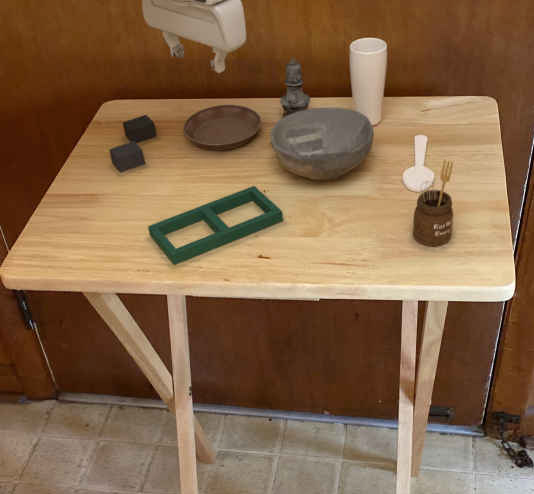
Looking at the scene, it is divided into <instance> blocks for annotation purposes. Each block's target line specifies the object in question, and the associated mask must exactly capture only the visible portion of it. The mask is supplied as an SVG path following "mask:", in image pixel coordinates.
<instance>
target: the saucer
mask: <svg viewBox="0 0 534 494" xmlns="http://www.w3.org/2000/svg"><path fill="white" fill-rule="evenodd" d="M261 126H262V118H261V115H260V114H259V113H258V112H256V111H255V110H253V109H252V108H250V107H247V106H243V105H239V104H237V105H236V104H221V105H219V104H218V105H214V106H210V107H206V108H203V109H201V110H198V111H196V112H195V113H193V114H192V115H190V116H189V117H188V118H187V119H186V120H185V122H184V123H183V133H184V135H185V136H186V137H187V138H188V139H189V140H190V141H191V142H193V143H194V144H196V145H197V146H199V147H202V148H204V149H207V150H212V151H227V150H232V149H236V148H239V147H241V146H243V145H245V144H246V143H248V142H249V141H250V140H251V139H252V138H254V136H256V134H257V133H258V131H260V128H261Z"/></svg>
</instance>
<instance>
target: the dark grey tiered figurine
mask: <svg viewBox="0 0 534 494" xmlns="http://www.w3.org/2000/svg"><path fill="white" fill-rule="evenodd" d="M303 83H304V78H302V65H301V64H300V63H299V62H298V61H295V59H294V58H293V57H292V58H291V59H290V61H289V62H287V64H286V65H285V80H284V84H285V86H286V87H285V88H286V93H285V94H284V95H282V96H281V97H280V99H279V103H280V105H281V106H282V109H283V111H284V113H283V114H282V118H284V117H286V116H288V115H290V114H293V113H296V112H299V111H303V110H307V109H309V108H308V107H309V105H310V102H311V97H310V95H309V94H307V93H305V92H304V91H303Z"/></svg>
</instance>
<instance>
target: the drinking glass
mask: <svg viewBox="0 0 534 494" xmlns="http://www.w3.org/2000/svg"><path fill="white" fill-rule="evenodd" d="M348 56H349V57H348V60H349V77H350V87H351V96H352V98H351V99H352V108H353V109H352V110H354V111H357V112H359V113H361V114H363V115H365V116H366V117H368V119H369V121H370V122H371V125H372V127H373V126H376V125H379V124H380V122H381V121H382V118H383V105H384V95H385V85H386V77H387V69H388V45H387V43H386V41H385V40H383V39H381V38H376V37H363V38H359V39H356V40H353V41H352V42H351V43H350V44H349V55H348Z"/></svg>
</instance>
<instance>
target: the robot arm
mask: <svg viewBox="0 0 534 494" xmlns="http://www.w3.org/2000/svg"><path fill="white" fill-rule="evenodd" d="M141 5H142V12H143V13H142V14H143V19H144V21H145V23H146V24H147V26H149V27H150V28H154V29H156V30H160V31H162V32H161V33H162V37H163V38H164V40H165V42H166V44H167V46H168V47H169V51H170V56H171V57H172V58H176V59H181V58H183V57H184V56H185V54H186V52H185V46H184V45H183V44H181V42H180V39H179V37H181V38H183V39H186V40H189V41H193V42H196V43H199V44H202V45H204V46H208V47H209V48H210V47H211V48H212V52H213V54H215V56H214V59H212V60H211V59H210V61H209V63H210V70H211V71H213V72H215V73H218V74H221V73H222V72H224V71H225V69H226V64H225V63H226V62H225V60H226V58H227V56H228V54H229V53H232V52H234V51H236V50H238V49H239V48H241V47H243V46H244V44H245V42H246V40H247V27H246V19H245V12H244V10H245V9H244V7H243V3H242V0H141Z"/></svg>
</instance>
